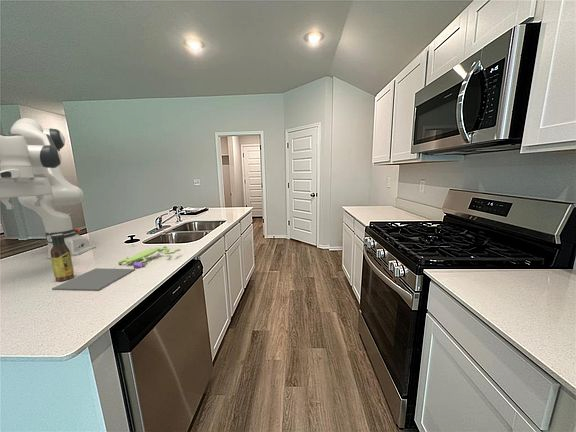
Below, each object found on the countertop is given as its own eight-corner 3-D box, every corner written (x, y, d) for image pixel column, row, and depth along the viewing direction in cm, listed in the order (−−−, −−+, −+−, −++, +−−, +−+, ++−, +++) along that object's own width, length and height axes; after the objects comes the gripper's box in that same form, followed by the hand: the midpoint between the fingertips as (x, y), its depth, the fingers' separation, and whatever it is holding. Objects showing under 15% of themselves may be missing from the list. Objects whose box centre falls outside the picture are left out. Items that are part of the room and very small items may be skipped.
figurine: (183, 258, 130) (182, 248, 129) (125, 273, 111) (124, 261, 110) (170, 250, 142) (169, 241, 141) (116, 263, 123) (115, 253, 122)
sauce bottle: (69, 280, 103) (60, 235, 100) (51, 282, 102) (42, 237, 98) (78, 274, 110) (69, 232, 106) (61, 276, 108) (52, 233, 104)
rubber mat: (95, 269, 115) (95, 268, 115) (135, 270, 113) (135, 268, 113) (52, 289, 95) (51, 288, 95) (98, 290, 94) (98, 289, 94)
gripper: (41, 174, 109) (47, 205, 111) (-23, 174, 89) (-14, 211, 91) (53, 174, 108) (58, 204, 110) (-10, 173, 88) (-1, 210, 90)
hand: (25, 207), depth 100 cm, fingers open, 8 cm apart
